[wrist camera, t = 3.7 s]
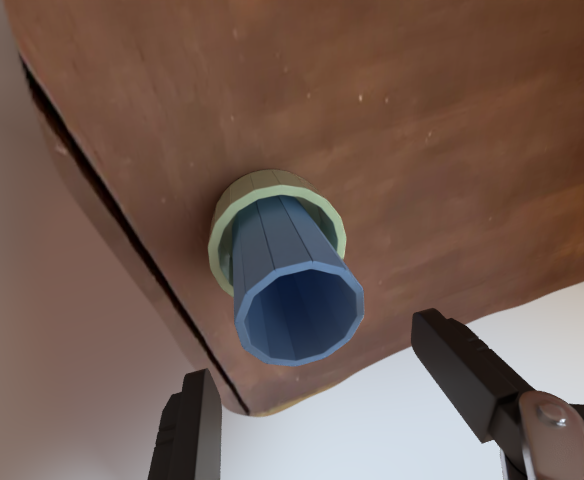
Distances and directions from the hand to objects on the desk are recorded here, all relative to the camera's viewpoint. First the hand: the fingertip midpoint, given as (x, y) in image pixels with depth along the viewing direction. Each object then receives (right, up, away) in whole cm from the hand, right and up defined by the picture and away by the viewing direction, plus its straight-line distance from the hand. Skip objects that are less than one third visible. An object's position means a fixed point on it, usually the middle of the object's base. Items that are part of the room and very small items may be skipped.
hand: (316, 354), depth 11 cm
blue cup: (-2, +5, +11) cm, 12 cm away
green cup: (-3, +5, +11) cm, 13 cm away
